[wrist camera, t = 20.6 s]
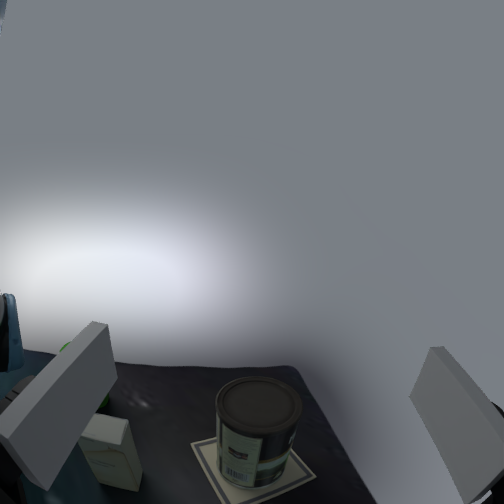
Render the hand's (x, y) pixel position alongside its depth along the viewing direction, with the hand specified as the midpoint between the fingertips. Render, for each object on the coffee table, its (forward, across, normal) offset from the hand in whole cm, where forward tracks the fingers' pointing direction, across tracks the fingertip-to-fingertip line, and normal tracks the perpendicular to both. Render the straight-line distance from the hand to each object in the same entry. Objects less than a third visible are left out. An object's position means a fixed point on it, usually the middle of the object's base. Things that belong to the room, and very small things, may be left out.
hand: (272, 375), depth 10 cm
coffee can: (+17, +1, -32) cm, 36 cm away
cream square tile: (+17, +1, -32) cm, 36 cm away
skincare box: (+10, -17, -32) cm, 38 cm away
